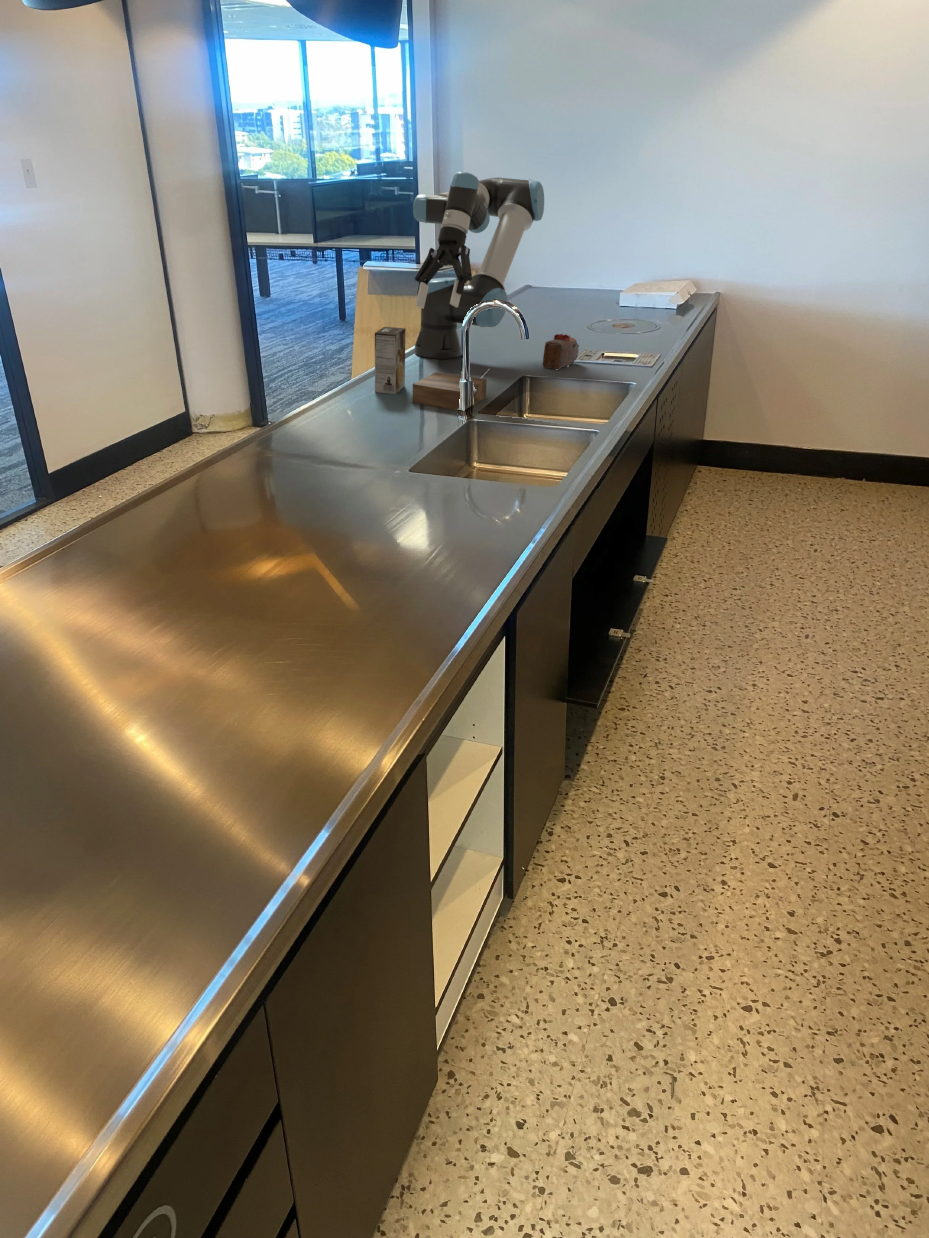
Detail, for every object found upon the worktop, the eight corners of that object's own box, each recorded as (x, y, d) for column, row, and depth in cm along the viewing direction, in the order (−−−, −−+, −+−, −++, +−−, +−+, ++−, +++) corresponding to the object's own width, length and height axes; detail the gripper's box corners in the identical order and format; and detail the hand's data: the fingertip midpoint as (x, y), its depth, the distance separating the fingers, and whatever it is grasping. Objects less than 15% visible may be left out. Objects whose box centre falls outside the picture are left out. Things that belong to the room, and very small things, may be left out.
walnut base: (436, 389, 249) (436, 371, 247) (485, 397, 245) (486, 379, 242) (412, 402, 236) (412, 384, 234) (464, 411, 232) (465, 392, 229)
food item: (555, 359, 290) (559, 328, 285) (578, 363, 287) (582, 332, 282) (539, 367, 279) (542, 335, 274) (563, 371, 276) (566, 339, 271)
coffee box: (383, 384, 251) (383, 326, 243) (405, 386, 250) (406, 328, 242) (374, 392, 243) (374, 332, 235) (396, 394, 242) (397, 334, 234)
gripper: (413, 228, 252) (396, 302, 253) (478, 221, 236) (459, 299, 237) (431, 240, 258) (414, 312, 259) (495, 233, 242) (477, 310, 243)
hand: (436, 306), depth 248 cm, fingers open, 13 cm apart
